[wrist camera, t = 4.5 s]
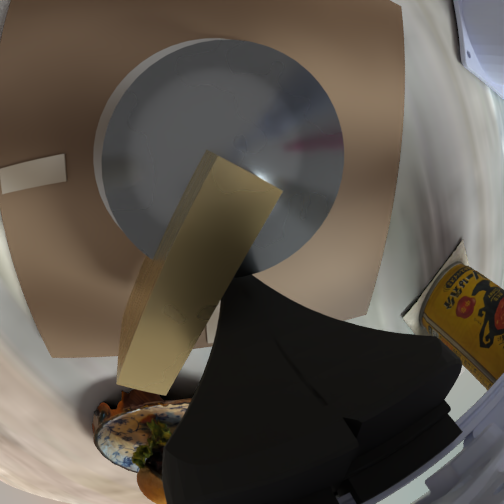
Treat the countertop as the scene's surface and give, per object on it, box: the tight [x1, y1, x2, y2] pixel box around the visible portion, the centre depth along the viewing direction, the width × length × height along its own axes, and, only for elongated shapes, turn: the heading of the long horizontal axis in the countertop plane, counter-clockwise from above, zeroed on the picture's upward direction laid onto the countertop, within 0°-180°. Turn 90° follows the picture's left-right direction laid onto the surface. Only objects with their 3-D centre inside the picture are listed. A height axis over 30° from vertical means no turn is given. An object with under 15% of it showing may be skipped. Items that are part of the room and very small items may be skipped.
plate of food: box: [92, 389, 192, 504], centre depth 13 cm, size 12×12×8 cm
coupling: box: [101, 40, 344, 396], centre depth 7 cm, size 9×6×4 cm, turn 149°
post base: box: [0, 0, 405, 358], centre depth 9 cm, size 16×16×1 cm
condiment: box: [403, 240, 504, 390], centre depth 13 cm, size 7×8×12 cm
